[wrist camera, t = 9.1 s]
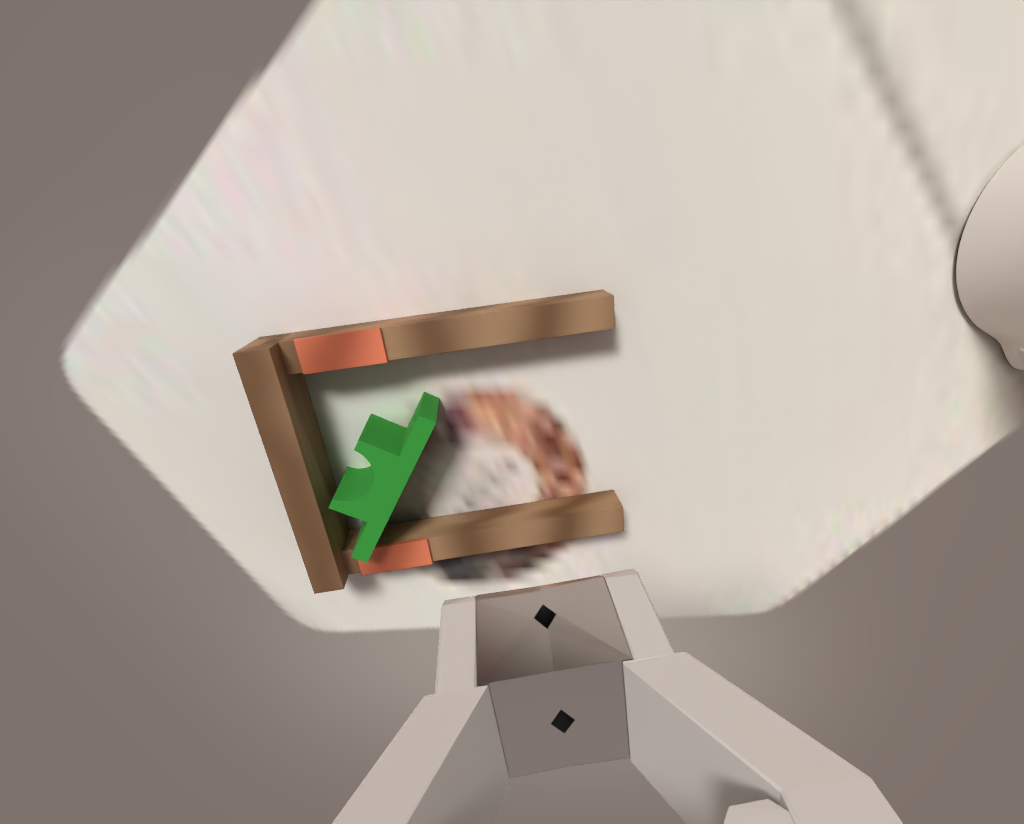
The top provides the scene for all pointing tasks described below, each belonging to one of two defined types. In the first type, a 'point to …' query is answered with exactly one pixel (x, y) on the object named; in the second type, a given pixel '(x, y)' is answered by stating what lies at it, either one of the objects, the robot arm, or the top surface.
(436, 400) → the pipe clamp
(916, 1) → the top surface
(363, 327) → the guide channel
